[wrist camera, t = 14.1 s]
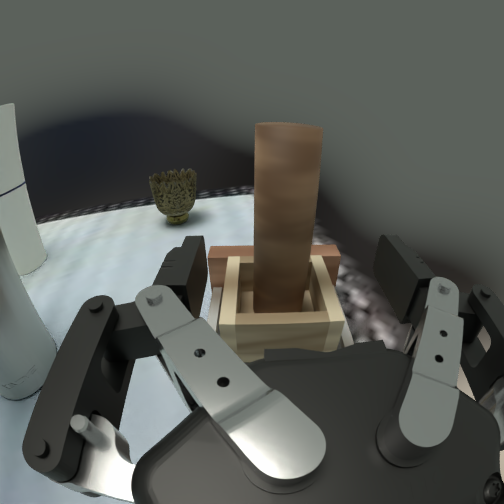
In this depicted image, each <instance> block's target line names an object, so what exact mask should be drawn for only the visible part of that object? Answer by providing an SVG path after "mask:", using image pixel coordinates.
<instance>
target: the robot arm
mask: <svg viewBox="0 0 504 504" xmlns="http://www.w3.org/2000/svg"><path fill="white" fill-rule="evenodd" d="M373 271H374V275H375V277H376V279H377V281H378V283H379V285H380V286H381V288H382V290H383V292H384V293H385V295H386V297H387V299H388V301H389V303H390V304H391V306H392V308H393V310H394V312H395V313H396V316H397V318H398V320H399V322H400V324H406V323H412V326H411V328H410V330H409V333H408V336H407V339H406V342H405V345H404V348H403V351H402V352H400V351H397V350H393V349H386V347H385V344H384V342H383V340H379V341H371V342H362V343H355V344H353V345H350V346H347V347H344V348H341V349H338V350H335V351H331V352H322V351H314V350H307V349H300V348H282V349H264V358H262V359H258V360H255V361H252V362H250V363H248V364H245V363H244V362H243V361H242V360H241V359H240V358H239V357H238V356H237V355H236V353H235V352H234V351H233V350H232V349H231V348H230V347H229V346H228V345H227V344H226V343H225V342H224V341H223V339H222V338H221V337H220V336H219V335H218V334H217V333H216V332H215V331H214V329H213V328H212V327H211V326H210V325H209V324H208V323H207V321H206V320H205V319H204V318H202V317H199V316H200V311H201V306H202V301H203V297H204V292H205V287H206V283H207V277H208V267H207V259H206V250H205V242H204V237H203V236H186V237H185V239H184V242H183V244H182V246H181V247H175V248H173V249H172V250H171V251H170V252H169V253H167V255H166V257H165V259H164V262H163V263H162V265H161V268H160V270H159V272H158V274H157V276H156V278H155V280H154V282H153V285H152V286H149V287H147V288H145V289H143V290H142V291H140V292H139V293H138V294H137V296H136V298H135V301H134V302H131V303H126V304H121V305H115V304H114V301H113V299H112V298H111V297H109V296H105V295H100V296H95V297H93V298H90V299H89V300H87V301H86V302H85V303H84V304H83V305H82V306H81V308H80V310H79V312H78V314H77V315H76V317H75V319H74V321H73V323H72V325H71V327H70V329H69V331H68V333H67V334H66V336H65V338H64V340H63V342H62V345H61V347H60V349H59V351H58V353H57V351H56V345H55V343H54V340H53V338H52V337H51V335H50V334H49V332H48V330H47V329H46V327H45V325H44V323H43V322H42V320H41V318H40V316H39V315H38V313H37V311H36V309H35V307H34V305H33V303H32V301H31V299H30V297H29V295H28V293H27V291H26V289H25V287H24V285H23V283H22V281H21V279H20V277H19V274H18V272H17V270H16V268H15V265H14V263H13V260H12V258H11V255H10V253H9V250H8V248H7V245H6V242H5V240H4V237H3V234H2V231H1V228H0V395H1V396H3V397H4V398H7V399H11V400H18V399H22V398H25V397H28V396H30V395H32V394H33V393H34V392H36V391H37V390H38V389H39V388H40V387H41V386H42V385H43V387H42V389H41V392H40V394H39V397H38V399H37V402H36V405H35V407H34V410H33V413H32V416H31V419H30V422H29V425H28V428H27V431H26V434H25V437H24V440H23V446H22V450H23V455H24V458H25V460H26V462H27V463H28V465H29V466H30V467H31V468H33V469H34V470H36V471H37V472H39V473H41V474H43V475H45V476H47V477H48V478H49V479H50V480H52V481H54V482H56V483H58V484H60V485H62V486H64V487H66V488H68V489H70V490H73V491H75V492H80V493H82V494H84V495H87V496H90V497H99V496H105V497H109V498H113V499H117V500H120V501H125V502H129V503H133V504H504V483H503V481H502V478H501V474H500V460H499V459H500V451H502V450H504V305H503V304H502V303H501V301H500V300H499V299H498V297H497V296H496V295H495V293H494V292H493V291H492V290H491V289H490V288H488V287H486V286H484V285H481V284H476V285H474V286H473V288H472V290H471V292H470V294H467V293H461V292H459V290H458V288H457V286H456V285H455V284H454V283H453V282H451V281H450V280H448V279H446V278H442V277H435V275H434V274H433V273H432V271H431V270H430V269H429V268H428V266H427V265H426V264H425V263H424V262H423V260H422V259H421V258H419V255H418V254H417V253H416V252H415V251H414V250H413V249H411V248H410V247H408V246H407V245H405V243H404V242H403V241H402V240H401V239H400V238H399V237H398V236H397V235H381V237H380V239H379V242H378V247H377V252H376V256H375V261H374V266H373ZM483 326H484V327H485V328H486V330H487V332H488V334H489V335H490V338H491V346H490V348H489V350H488V351H487V352H486V351H485V350H484V348H483V346H482V344H481V342H480V340H479V339H478V337H477V336H478V334H479V332H480V331H481V329H482V327H483ZM56 353H57V355H56ZM154 355H156V357H157V359H158V361H159V362H160V364H161V366H162V367H163V369H164V371H165V372H166V374H167V376H168V377H169V379H170V380H171V382H172V384H173V385H174V387H175V388H176V390H177V392H178V394H179V395H180V397H181V399H182V401H183V402H184V404H185V406H186V407H187V409H188V410H189V412H190V414H189V415H188V416H187V417H186V418H185V419H184V420H183V421H182V422H181V423H180V424H178V425H177V426H176V427H175V428H174V429H173V430H172V431H171V432H170V433H168V434H167V435H166V436H165V437H164V438H163V439H162V440H160V441H159V442H158V443H157V444H156V445H155V446H153V447H152V448H151V449H150V450H149V451H147V452H146V453H145V454H144V455H143V456H142V457H141V458H140V460H139V461H138V462H137V464H136V466H135V465H133V463H132V462H131V459H130V455H129V444H128V441H127V440H126V438H125V437H124V436H123V435H122V434H121V433H120V432H119V427H120V422H121V417H122V412H123V408H124V404H125V399H126V395H127V391H128V387H129V383H130V379H131V375H132V371H133V367H134V363H135V360H136V359H138V358H144V357H149V356H154ZM460 364H461V367H462V369H463V371H464V373H465V376H466V378H467V380H468V383H469V385H470V387H471V390H472V392H473V395H474V397H475V400H476V401H475V400H473V399H472V398H471V397H469V396H468V395H466V394H465V393H463V392H462V391H460V390H459V389H458V388H457V379H458V372H459V365H460Z"/></svg>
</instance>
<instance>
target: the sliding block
mask: <svg viewBox="0 0 504 504" xmlns="http://www.w3.org/2000/svg"><path fill="white" fill-rule="evenodd" d="M253 265H254V256H230V257H228V262H227V269H226V276H225V283H224V290H223V297H222V304H221V311H220V319H219V329H220V336H221V338H222V339H223V341H224V342H225V343H226V344H227V345H228V346H229V347H230V348H231V349H232V350H233V351H234V352H235V353H236V355H237V356H238V357H239V358H240V359H241V360H242V361H243V362H252V361H255V360H258V359H262V358H264V349H282V348H300V349H307V350H314V351H322V352H331V351H335V350H337V347H338V344H339V340H340V337H341V334H342V330H343V327H344V323H345V318H344V316H343V313H342V310H341V307H340V304H339V301H338V298H337V296H336V293H335V290H334V287H333V285H332V282H331V279H330V276H329V274H328V271H327V268H326V266H325V263H324V261H323V258H322V255H310V260H309V267H308V274H307V280H306V287H305V293H304V299H303V305H302V311H301V312H293V313H254V311H253Z"/></svg>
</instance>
